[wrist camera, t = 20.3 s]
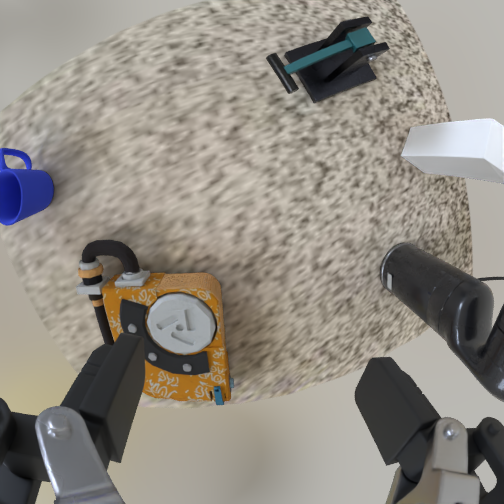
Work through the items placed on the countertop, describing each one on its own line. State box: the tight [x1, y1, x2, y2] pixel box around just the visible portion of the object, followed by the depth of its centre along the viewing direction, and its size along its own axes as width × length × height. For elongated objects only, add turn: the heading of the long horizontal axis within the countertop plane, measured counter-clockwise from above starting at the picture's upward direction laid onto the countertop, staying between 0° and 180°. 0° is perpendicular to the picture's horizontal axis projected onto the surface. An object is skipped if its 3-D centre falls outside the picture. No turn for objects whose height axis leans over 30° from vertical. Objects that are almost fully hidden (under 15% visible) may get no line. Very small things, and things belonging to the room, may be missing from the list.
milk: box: [401, 118, 504, 184], centre depth 29 cm, size 6×6×22 cm
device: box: [76, 240, 234, 405], centre depth 40 cm, size 23×8×30 cm
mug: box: [0, 148, 54, 225], centre depth 31 cm, size 8×12×10 cm
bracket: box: [284, 17, 390, 103], centre depth 28 cm, size 12×9×13 cm
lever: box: [266, 28, 376, 94], centre depth 26 cm, size 13×6×2 cm, turn 119°
